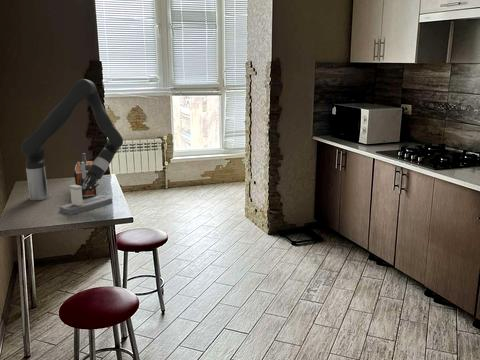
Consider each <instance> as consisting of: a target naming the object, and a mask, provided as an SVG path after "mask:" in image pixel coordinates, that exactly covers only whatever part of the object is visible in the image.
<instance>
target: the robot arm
mask: <svg viewBox="0 0 480 360" xmlns="http://www.w3.org/2000/svg"><path fill="white" fill-rule="evenodd" d="M83 100H86V102H87V103H88V104H89V106H90V108H91V110H92V112H93V116H94V120H95V122H96V124H97V126H98V128H99V130H100V131H101V133H102V134H104V135H105V137H106V138H107V139H108V140H107V141H106V142H105V144H104V147H103V149H101V151H100V152H99V154H98V155H97V157H96V158H95V159H94V160H93V161H94V162H93V164H92V165H91V167H90V168H89V170H88V175H87V176H86V177H85V178H84V179H83V178H81V182H80V186H82V189H81V190H82V198H84V197H83V196H84V195H85V194H86V192H88V191H91V190H93V189H94V188H95V187H96V188H97V187H98V186H100V183H98V182H99V180H101V179H102V178H103V176H104V174H105V173H106V171H107V170H108V168H109V166H110V164H111V163H112V162H113V159H114V157H115V154H116V153H117V152H118V150H119V149H120V148H121V147H122V146H123V145H124V139H123V136H122V135H121V133H120V132H119V131H118V129H117V128H116V126H114V124H113V122H112V119H111V118H110V116H109V114H108V113H107V111H106V110H107V109H105V106H104V105H103V103H102V100H101V98H100V95H99V92H98V89H97V86H96V84H95V83H94V82H93V81H92V80H89V79H85V78H81V79H79V80H77V81H76V82H75V83H74V85H72V87H71V88H70V90H69V91H68V92H67V94H66V95H65V97H64V98H63V99H61V101H59V103H58V104H57V105H56V106H55V107H54V108H53V109H52V110H50V112H49V113H48V114H47V115H46V117H45V118H44V119H43V120H42V122H41V123H40V125H38V127H37V128H36V129H35V131H34V132H32V134H30V135H29V136H28V137H27V138H26V139H24V140H23V141H22V143H21V146H20V150H21V152H22V153H23V155H25V156H26V161H25V172H26V178H27V186H28V195H29V200H30V201H43V200H46V199H48V198H49V191H48V190H49V189H48V182H47V174H46V165H45V162H46V160H45V159H46V158H45V156H46V155H45V146H44V144H45V143H46V142H47V141H48V140H49V139H50V138H51V137H53V135H55V134H56V133H58V131H60V130H61V129H62V128H63V127H65V125H66V124H67V123H68V122H69V120H71V117H72V115H73V113H74V111H75V109H76V108H77V106H78V105H79V104H80V103H81V102H82V101H83Z"/></svg>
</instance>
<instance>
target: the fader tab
mask: <svg viewBox="0 0 480 360" xmlns="http://www.w3.org/2000/svg"><path fill="white" fill-rule="evenodd" d="M81 189H82V186H79V185H76V184H70V185H69V192H70V199H71V200H70V201H71V203H72V204H73V205H77V206H79V205H82V204H83V200H84V198H83V197H82V190H81Z"/></svg>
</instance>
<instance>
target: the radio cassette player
mask: <svg viewBox="0 0 480 360" xmlns="http://www.w3.org/2000/svg"><path fill="white" fill-rule="evenodd" d="M94 161H95V160H90V161H89V160H88V161H87V157H86V153H85V152H84V153H83V152H82V156H81V160H80V161H77V162H75V167H74V181H75V184H74V185H79V186H80V182H81V178H83V179H84V178H85V177H86V176H87V175H88V170H89V168H90V167H91V165H92V164H93V162H94ZM96 196H97V187H95V188H94V189H93V190H91V191H88V192H86V194H85V195H84V196H83V197H82V198H87V197H89V198H90V197H91V198H92V197H96Z"/></svg>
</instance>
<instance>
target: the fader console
mask: <svg viewBox="0 0 480 360" xmlns="http://www.w3.org/2000/svg"><path fill="white" fill-rule="evenodd" d="M110 204H113V198H112V197H109V196H104V195H101V194H100V195H96V196H93V197H92V196H91V197H89V198H86V199H85V198H84V199H83V204H82V205H79V206H77V205H73V204H72V202H71V203H67V204H63V205H59V212H60V213H64V214H66V215H69V214H70V216H73V215H76V213H77V214H79V213H82V212H83V213H84V212H86V211H90V210H94V209H96V208H100V207H103V206H106V205H110Z"/></svg>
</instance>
